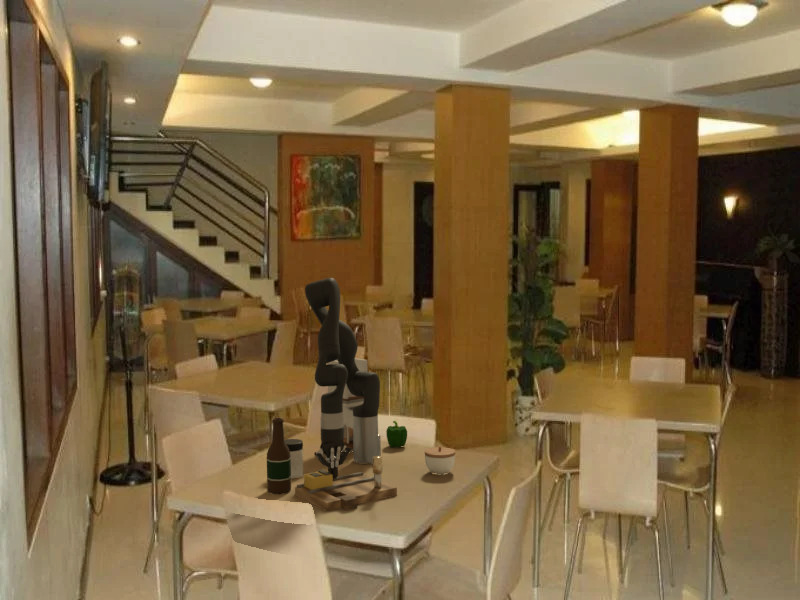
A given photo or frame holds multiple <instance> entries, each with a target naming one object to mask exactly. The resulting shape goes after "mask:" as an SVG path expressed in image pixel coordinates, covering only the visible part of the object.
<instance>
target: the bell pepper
mask: <svg viewBox="0 0 800 600" xmlns="http://www.w3.org/2000/svg"><path fill="white" fill-rule="evenodd" d="M392 423H393V424H394V425H393V426H392V425H389V426H388V427H387V428H386V433H385V435H386V440H387V443H388V446H389V447H390V446H391V447H390V448H392V447H398V448H401V447H400V446H404V447H405V445H406V444H407V443H406V442H407V439H408V430H407V427H406V426H405V425H401V426H398V422H397V421H396V420H393V421H392Z"/></svg>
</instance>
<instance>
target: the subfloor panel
mask: <svg viewBox="0 0 800 600" xmlns="http://www.w3.org/2000/svg"><path fill="white" fill-rule="evenodd" d="M381 484H382V488H380V489H375V488H374V476H370V475H366V474H365V473H364V472H363V471H360V472H354V473H351V474H345V475H340V476H339V475H338V476H337V478H336V479H333V485H332V486H328V487H323V488H318V489H313V490H311V489H309V488H306V487H304V483H299V484H296V487H294V495H295V496H296V497H298V498H300V499H302V500H304V501H306V502H308V503H310V504H312V505H314V506H316V507H318V508H320V509H322V510H324V511H326V512H329V511H332V510H338V509H343V510H345V511H348V510H354V509H358V505H359V504H364V503H368V502H373V501H377V500H381V499H387V498H390V497H391V498H392V497H394V496H398V487H397V486H394V485H391V484H389V483H386V482H384V481H382V480H381Z"/></svg>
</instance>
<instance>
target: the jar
mask: <svg viewBox="0 0 800 600" xmlns="http://www.w3.org/2000/svg"><path fill="white" fill-rule="evenodd" d="M284 440H285V443H286V445H287V446H288V448H289V450H290V456H291V480H292V479H293V480H294V479H297V478H302V477H304V450H303V449H304V448H303V447H304V444H303V440H302V439H299V438H288V439H287V438H285V439H284Z"/></svg>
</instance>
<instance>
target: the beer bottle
mask: <svg viewBox="0 0 800 600" xmlns="http://www.w3.org/2000/svg"><path fill="white" fill-rule="evenodd" d="M271 422H272V437H271V438H272V440H271V444H270V446H268V450H267V452H266V487H267V492H268V493H270V494H272V495H284V494H285V495H286V494H289V492H291V490H292V479H291V456H290V450H289V448H288V446H287V445H286V443H285V440H286V439H285V433H284V422H285V421H284V418H281V417H275V418H273V419H272V421H271Z"/></svg>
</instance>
